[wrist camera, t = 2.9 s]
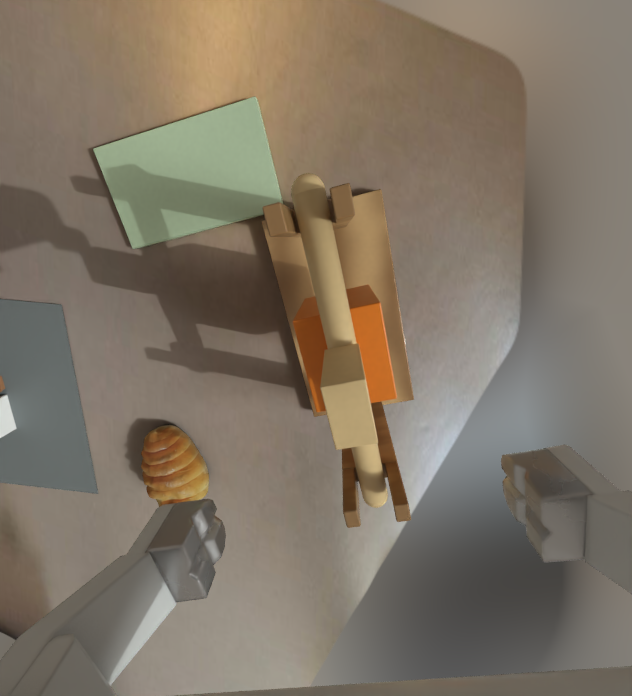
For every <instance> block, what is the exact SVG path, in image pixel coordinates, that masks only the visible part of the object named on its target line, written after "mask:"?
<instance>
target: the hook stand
mask: <svg viewBox="0 0 632 696" xmlns="http://www.w3.org/2000/svg"><path fill="white" fill-rule="evenodd" d="M330 194H331V199H327V201H328V206H329V211H330V216H331V220H332V225H333V230H334V235H335V240H336V245H337V250H338V254H339V259H340V264H341V269H342V274H343V279H344V284H345V288H346V289H350V288H354V287H359V286H363V285H369V286H370V287H371V289H372V290H373V292H374V293H375V295H376V296H377V298H378V300H379V301H380V303H381V307H382V312H383V318H384V324H385V330H386V335H387V341H388V347H389V353H390V359H391V364H392V370H393V376H394V382H395V387H396V393H397V398H396V399H392V400H386V401H380V402H374V403H371V407H372V412H373V417H374V422H375V427H376V432H377V438H378V443H377V444H378V449H379V454H380V458H381V463H382V468H383V473H384V478H386V477H388V482H389V486H390V491H391V496H392V501H393V506H394V511H395V516H396V520H397V522H401V521H409V520H411V516H410V510H409V505H408V501H407V497H406V493H405V489H404V485H403V482H402V478H401V474H400V470H399V466H398V463H397V459H396V455H395V451H394V447H393V443H392V440H391V436H390V432H389V428H388V424H387V421H386V417H385V413H384V409H383V405H385V404H391V403H397V402H403V401H408V400H414V396H413V390H412V383H411V377H410V370H409V364H408V358H407V351H406V345H405V338H404V332H403V326H402V319H401V313H400V306H399V300H398V293H397V287H396V281H395V274H394V268H393V261H392V255H391V248H390V242H389V236H388V229H387V223H386V216H385V210H384V204H383V197H382V191H381V189H379V190H375V191H371V192H368V193H364V194H360V195H356V196H353V197H352V193H351V187H350V184H349V183H347V184H343V185H339V186H336V187H332V188H330ZM262 210H263V214H264V217H265V220H262V226H263V229H264V233H265V237H266V240H267V244H268V248H269V251H270V255H271V259H272V263H273V266H274V270H275V274H276V277H277V281H278V285H279V288H280V292H281V296H282V300H283V303H284V307H285V311H286V314H287V318H288V322H289V325H290V329H291V333H292V337H293V340H294V344H295V348H296V351H297V355H298V359H299V362H300V366H301V370H302V373H303V377H304V381H305V385H306V388H307V392H308V396H309V399H310V403H311V407H312V410H313V414H314V417H316V416H322V415H327V413H326V411H323V412H316V409H315V405H314V401H313V397H312V394H311V390H310V386H309V382H308V379H307V375H306V371H305V367H304V364H303V360H302V356H301V352H300V349H299V345H298V341H297V337H296V334H295V330H294V326H293V320H294V318H295V316H296V314H297V312H298V310H299V309H300V307H301V305H302V303H303V301H304V299H306V298H310V297H314V296H315V293H314V289H313V285H312V280H311V276H310V272H309V268H308V264H307V259H306V255H305V251H304V247H303V242H302V238H301V234H300V230H299V226H298V221H297V217H296V213H295V209H290V208H289V207H287V206H285V205H284V204H282V203H280V202H277V203H273V204H270V205H266V206H263V207H262ZM342 470H343V471H342V475H343V514H344V517H345V521H346V525H347V527H348V528H350V527H358V526H360V525H361V521H360V508H359V496H358V483H357V482H358V481H359V479H358V474H357V470H356V466H355V462H354V457H353V453H352V449H351V448H345V449H342Z"/></svg>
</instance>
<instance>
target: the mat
mask: <svg viewBox="0 0 632 696" xmlns="http://www.w3.org/2000/svg"><path fill="white" fill-rule="evenodd" d="M93 151H94V153H95V156H96V158H97V161H98V163H99V166H100V168H101V171H102V173H103V176H104V178H105V181H106V183H107V186H108V188H109V191H110V193H111V196H112V198H113V201H114V203H115V206H116V208H117V211H118V213H119V216H120V218H121V221H122V223H123V226H124V228H125V231H126V233H127V236H128V238H129V241H130V243H131V246H132V248H133V249H138V248H142V247H146V246H149V245H153V244H157V243H161V242H164V241H168V240H172V239H176V238H179V237H183V236H187V235H190V234H194V233H198V232H202V231H205V230H209V229H213V228H217V227H220V226H224V225H228V224H232V223H235V222H239V221H243V220H247V219H250V218H254V217H258V216H261V215H264V214H263V210H262V207H263V206H266V205H270V204H273V203H277V202H280V203H282V204H283V201H282V197H281V193H280V188H279V184H278V180H277V176H276V172H275V168H274V164H273V160H272V156H271V152H270V148H269V144H268V140H267V136H266V132H265V128H264V123H263V119H262V115H261V111H260V107H259V103H258V100H257V98H256V97H252V98H249V99H246V100H242V101H239V102H236V103H233V104H230V105H227V106H224V107H221V108H218V109H215V110H211V111H208V112H205V113H202V114H199V115H196V116H193V117H190V118H187V119H184V120H180V121H177V122H174V123H171V124H168V125H165V126H162V127H159V128H156V129H153V130H149V131H146V132H143V133H140V134H137V135H134V136H131V137H128V138H125V139H122V140H118V141H115V142H112V143H109V144H106V145H103V146H100V147H97V148H94V149H93Z"/></svg>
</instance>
